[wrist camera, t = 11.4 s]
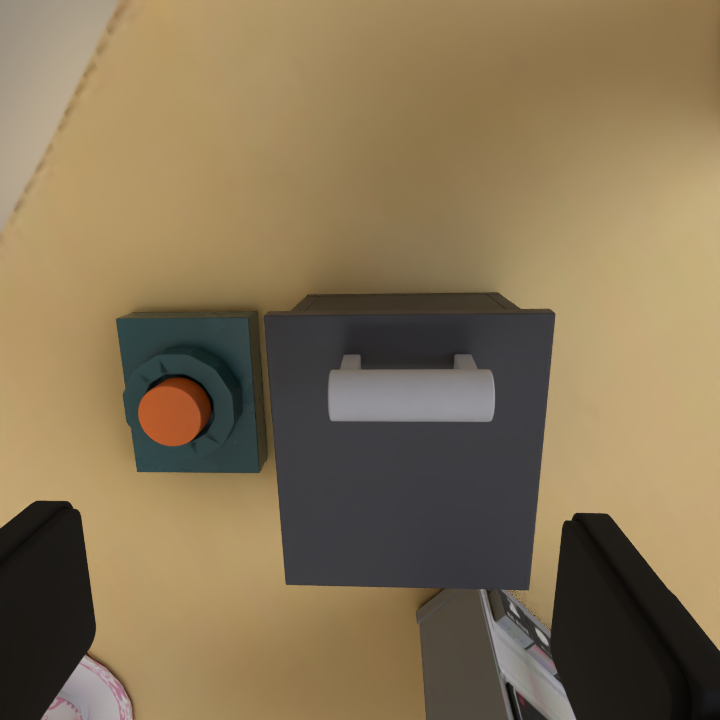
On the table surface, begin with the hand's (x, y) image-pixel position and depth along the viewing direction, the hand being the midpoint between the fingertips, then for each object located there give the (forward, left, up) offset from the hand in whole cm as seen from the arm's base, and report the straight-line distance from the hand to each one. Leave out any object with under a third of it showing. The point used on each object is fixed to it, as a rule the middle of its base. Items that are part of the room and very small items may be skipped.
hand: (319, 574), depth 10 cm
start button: (+4, -11, -20) cm, 23 cm away
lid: (+4, +2, -14) cm, 14 cm away
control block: (+4, -11, -24) cm, 27 cm away
